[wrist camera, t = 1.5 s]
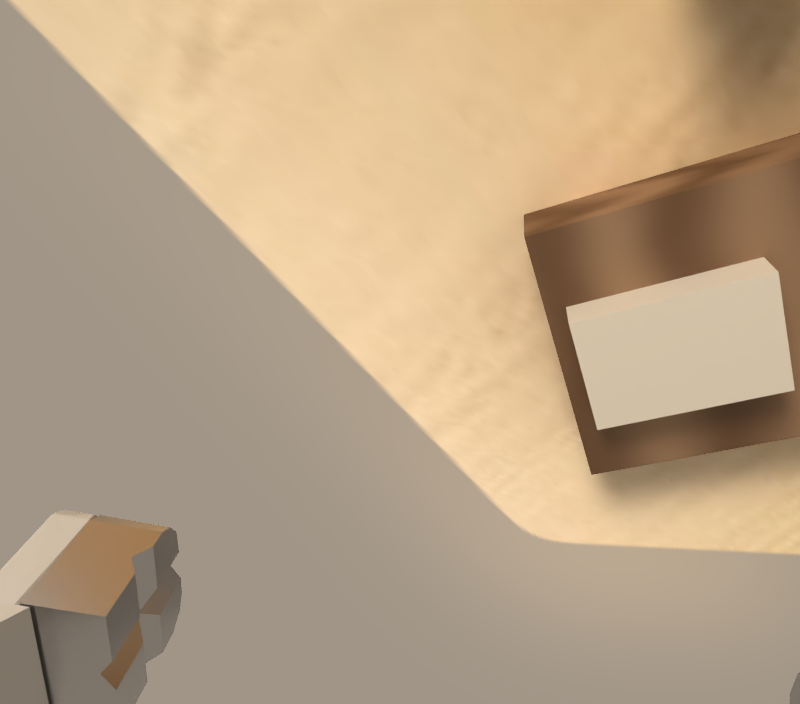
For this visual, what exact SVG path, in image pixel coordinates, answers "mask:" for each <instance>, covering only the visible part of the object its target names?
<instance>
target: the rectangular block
mask: <svg viewBox="0 0 800 704" xmlns="http://www.w3.org/2000/svg"><path fill="white" fill-rule="evenodd" d="M566 310H567V317H568V323H569V327H570V331H571V334H572V338H573V342H574V345H575V349H576V353H577V357H578V360H579V364H580V368H581V371H582V375H583V379H584V382H585V386H586V390H587V394H588V397H589V401H590V405H591V408H592V412H593V416H594V419H595V423H596V427H597V430H601V429H606V428H611V427H616V426H621V425H626V424H631V423H636V422H641V421H646V420H651V419H655V418H660V417H665V416H670V415H675V414H680V413H685V412H690V411H695V410H700V409H705V408H710V407H715V406H720V405H725V404H730V403H735V402H740V401H745V400H750V399H754V398H759V397H764V396H769V395H774V394H779V393H784V392H789V391H794V390H795V388H794V380H793V373H792V366H791V359H790V352H789V344H788V337H787V330H786V323H785V315H784V308H783V301H782V294H781V287H780V279H779V272H778V271H777V270H776V269H775V268H774V267H773V266H772V265H771V264H770V263H769V262H768V261H767V260H766V259H765V258H764V257H762V258H758V259H754V260H750V261H746V262H742V263H738V264H734V265H730V266H726V267H722V268H718V269H714V270H710V271H706V272H703V273H699V274H695V275H691V276H687V277H683V278H679V279H675V280H671V281H667V282H663V283H659V284H655V285H651V286H647V287H643V288H639V289H636V290H632V291H628V292H624V293H620V294H616V295H612V296H608V297H604V298H600V299H596V300H592V301H588V302H584V303H580V304H576V305H573V306H569V307H566Z"/></svg>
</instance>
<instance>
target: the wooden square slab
mask: <svg viewBox="0 0 800 704" xmlns="http://www.w3.org/2000/svg"><path fill="white" fill-rule="evenodd" d="M524 236H525V240H526V244H527V248H528V251H529V255H530V258H531V262H532V265H533V269H534V272H535V276H536V279H537V283H538V287H539V290H540V294H541V297H542V301H543V304H544V308H545V311H546V315H547V318H548V322H549V326H550V329H551V333H552V336H553V340H554V343H555V347H556V350H557V354H558V357H559V361H560V364H561V368H562V372H563V375H564V379H565V382H566V386H567V389H568V393H569V396H570V400H571V403H572V407H573V411H574V414H575V418H576V421H577V425H578V428H579V432H580V435H581V439H582V442H583V446H584V450H585V453H586V457H587V460H588V464H589V467H590V471H591V474H592V475H593V474H598V473H603V472H609V471H614V470H620V469H625V468H630V467H636V466H641V465H647V464H652V463H657V462H663V461H668V460H674V459H679V458H685V457H690V456H695V455H701V454H706V453H712V452H717V451H722V450H728V449H733V448H739V447H744V446H749V445H755V444H760V443H766V442H771V441H777V440H782V439H787V438H793V437H798V436H800V133H799V134H796V135H793V136H789V137H786V138H782V139H779V140H776V141H772V142H769V143H766V144H762V145H759V146H755V147H752V148H749V149H745V150H742V151H738V152H735V153H732V154H728V155H725V156H722V157H718V158H715V159H711V160H708V161H705V162H701V163H698V164H694V165H691V166H688V167H684V168H681V169H678V170H674V171H671V172H667V173H664V174H661V175H657V176H654V177H651V178H647V179H644V180H640V181H637V182H634V183H630V184H627V185H623V186H620V187H617V188H613V189H610V190H607V191H603V192H600V193H596V194H593V195H590V196H586V197H583V198H580V199H576V200H573V201H569V202H566V203H563V204H559V205H556V206H552V207H549V208H546V209H542V210H539V211H536V212H532V213H529V214H525V215H524ZM762 257H764V258H765V259H766V260H767V261H768V262H769V263H770V264H771V265H772V266H773V267H774V268H775V269H776V270H777V271H778V272H779V279H780V287H781V294H782V301H783V308H784V315H785V323H786V330H787V337H788V344H789V352H790V359H791V366H792V373H793V380H794V388H795V390H794V391H789V392H784V393H779V394H774V395H769V396H764V397H759V398H754V399H750V400H745V401H740V402H735V403H730V404H725V405H720V406H715V407H710V408H705V409H700V410H695V411H690V412H685V413H680V414H675V415H670V416H665V417H660V418H655V419H651V420H646V421H641V422H636V423H631V424H626V425H621V426H616V427H611V428H606V429H601V430H597V427H596V423H595V419H594V416H593V412H592V408H591V405H590V401H589V397H588V394H587V390H586V386H585V382H584V379H583V375H582V371H581V368H580V364H579V360H578V357H577V353H576V349H575V345H574V342H573V338H572V334H571V331H570V327H569V323H568V317H567V310H566V307H569V306H573V305H576V304H580V303H584V302H588V301H592V300H596V299H600V298H604V297H608V296H612V295H616V294H620V293H624V292H628V291H632V290H636V289H639V288H643V287H647V286H651V285H655V284H659V283H663V282H667V281H671V280H675V279H679V278H683V277H687V276H691V275H695V274H699V273H703V272H706V271H710V270H714V269H718V268H722V267H726V266H730V265H734V264H738V263H742V262H746V261H750V260H754V259H758V258H762Z"/></svg>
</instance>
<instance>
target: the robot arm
mask: <svg viewBox="0 0 800 704" xmlns="http://www.w3.org/2000/svg"><path fill="white" fill-rule="evenodd" d="M178 552H179V550H178V542H177V533H176V531H174V530H173V529H172V528H170V527H165V526H159V525H154V524H148V523H141V522H136V521H130V520H125V519H119V518H113V517H108V516H102V515H99V516H96V515H90V514H85V513H80V512H74V511H69V510H61V511H59V512H56V513H54V514H52V515H51V516H50V517H49V518H48V519H47V520H46V521H45V522H44V524H43V525H42V526H41V527H40V528H39V529H38V530H37V531H36V532H35V533H34V534H33V535H32V536H31V537H30V539H29V540H28V541H27V542H26V543H25V544H24V545H23V546H22V547H21V548H20V549H19V550H18V551H17V552H16V554H15V555H14V556H13V557H12V558H11V559H10V560H9V561H8V562H7V563H6V565H4V567H3V568H2V569H1V570H0V704H135V703H136V701H137V699H138V698H139V696H140V694H141V692H142V690H143V688H144V687H145V685H146V683H147V675H146V665H145V663H147V662H148V661H150V660H151V659H153V658H154V657H156V656H157V655H159V654H161V653H162V652H163V651H164V649H165V647H166V645H167V643H168V641H169V639H170V637H171V635H172V634H173V631H174V627H175V624H176V621H177V617H178V614H179V611H180V603H181V594H182V591H181V578H180V577H179V575H178V574H177V573H176V572H175V571H174V569H173V568H172V567H171V564H172V562H173V561H174V559H175V557H176V556H177V554H178ZM790 704H800V673H798V675H797V678H796V680H795V682H794V685H793V688H792V690H791V693H790Z"/></svg>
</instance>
